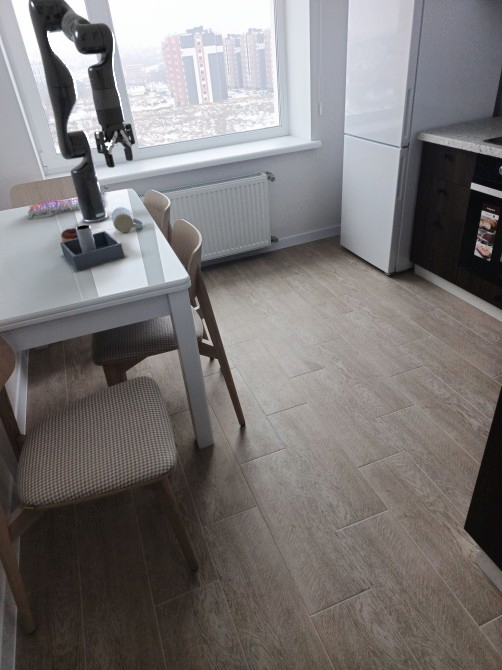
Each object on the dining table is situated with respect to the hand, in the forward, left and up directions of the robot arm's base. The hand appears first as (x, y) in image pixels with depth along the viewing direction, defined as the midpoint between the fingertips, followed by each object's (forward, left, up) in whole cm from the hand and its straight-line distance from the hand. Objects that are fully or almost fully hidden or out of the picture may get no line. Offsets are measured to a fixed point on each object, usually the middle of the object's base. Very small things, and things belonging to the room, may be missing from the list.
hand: (120, 163), depth 146 cm
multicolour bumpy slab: (-70, -7, -28) cm, 75 cm away
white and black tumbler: (-4, -15, -28) cm, 32 cm away
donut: (-25, -14, -28) cm, 40 cm away
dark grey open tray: (-5, -14, -28) cm, 32 cm away
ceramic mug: (-23, +5, -28) cm, 36 cm away
